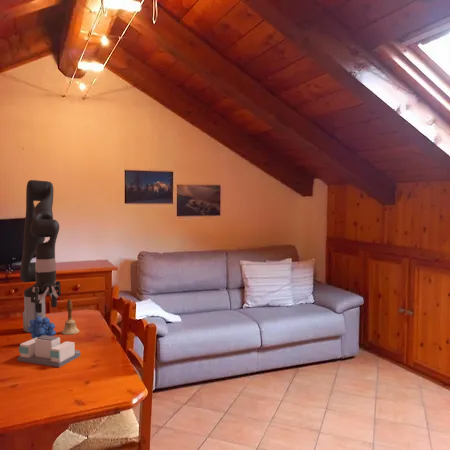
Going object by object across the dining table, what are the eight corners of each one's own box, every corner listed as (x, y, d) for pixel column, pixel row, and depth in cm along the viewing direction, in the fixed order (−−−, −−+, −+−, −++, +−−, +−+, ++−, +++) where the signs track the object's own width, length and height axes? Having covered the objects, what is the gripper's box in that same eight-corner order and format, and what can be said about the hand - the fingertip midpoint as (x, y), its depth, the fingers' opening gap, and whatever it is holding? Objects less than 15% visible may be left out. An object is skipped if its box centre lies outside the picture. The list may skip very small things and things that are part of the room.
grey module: (35, 356, 176) (34, 338, 176) (44, 352, 181) (43, 334, 180) (51, 358, 174) (51, 340, 173) (60, 354, 178) (59, 336, 178)
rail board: (17, 360, 175) (17, 344, 175) (40, 350, 188) (40, 335, 187) (59, 367, 169) (58, 350, 168) (80, 355, 181) (80, 340, 181)
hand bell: (75, 335, 208) (75, 301, 207) (58, 334, 208) (57, 301, 207) (81, 329, 216) (81, 297, 215) (65, 329, 216) (64, 297, 215)
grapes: (26, 346, 192) (25, 319, 191) (28, 341, 198) (28, 315, 197) (55, 344, 195) (54, 317, 194) (56, 339, 201) (55, 313, 201)
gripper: (50, 266, 183) (51, 304, 184) (24, 272, 169) (25, 313, 170) (65, 267, 180) (66, 306, 181) (40, 273, 167) (41, 315, 168)
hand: (46, 309), depth 176 cm, fingers open, 8 cm apart
